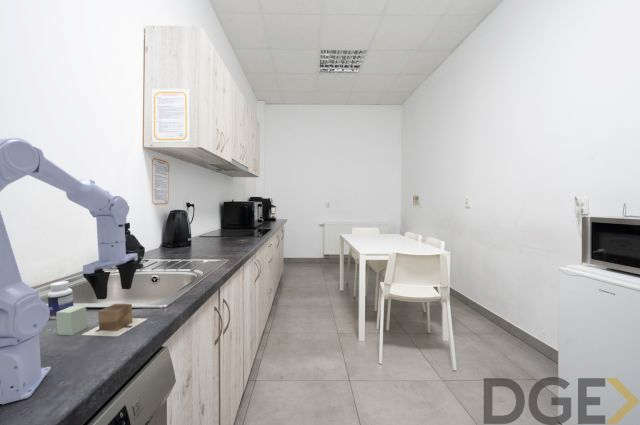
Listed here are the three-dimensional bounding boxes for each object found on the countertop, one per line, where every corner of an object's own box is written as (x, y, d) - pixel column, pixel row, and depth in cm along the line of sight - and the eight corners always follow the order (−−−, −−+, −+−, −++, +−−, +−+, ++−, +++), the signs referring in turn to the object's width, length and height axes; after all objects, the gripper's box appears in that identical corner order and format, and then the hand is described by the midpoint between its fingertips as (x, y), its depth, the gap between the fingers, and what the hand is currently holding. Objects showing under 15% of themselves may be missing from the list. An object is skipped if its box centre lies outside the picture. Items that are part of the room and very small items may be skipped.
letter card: (117, 337, 67) (117, 336, 67) (81, 336, 69) (81, 334, 69) (147, 319, 77) (147, 318, 77) (115, 318, 78) (115, 317, 78)
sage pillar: (72, 336, 69) (70, 312, 68) (57, 335, 69) (56, 312, 69) (87, 328, 73) (86, 306, 72) (73, 328, 73) (72, 306, 73)
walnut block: (117, 331, 70) (116, 311, 70) (99, 330, 71) (98, 311, 70) (132, 322, 75) (131, 304, 75) (115, 321, 76) (114, 303, 75)
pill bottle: (45, 317, 80) (43, 284, 80) (69, 310, 85) (67, 279, 85) (53, 320, 78) (51, 286, 77) (77, 313, 83) (75, 281, 82)
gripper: (100, 247, 64) (104, 304, 65) (146, 238, 79) (148, 285, 79) (73, 247, 65) (77, 303, 66) (123, 238, 79) (126, 284, 80)
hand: (114, 293), depth 73 cm, fingers open, 7 cm apart
